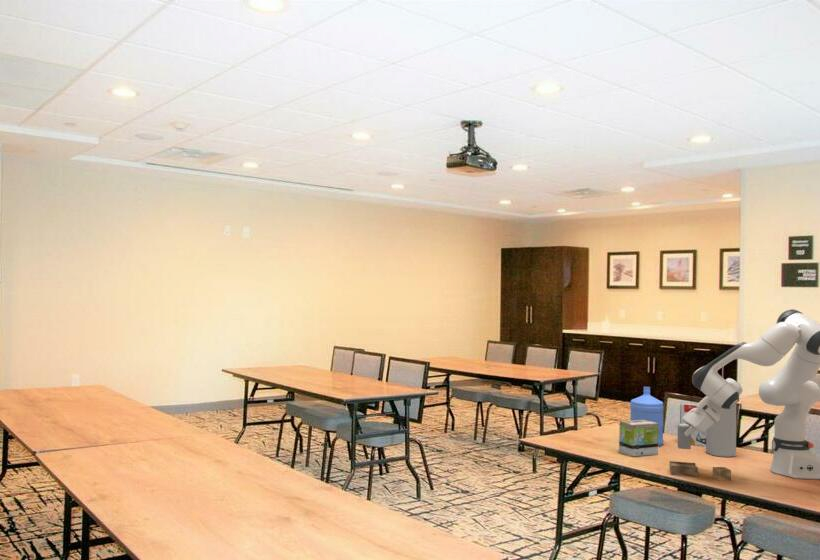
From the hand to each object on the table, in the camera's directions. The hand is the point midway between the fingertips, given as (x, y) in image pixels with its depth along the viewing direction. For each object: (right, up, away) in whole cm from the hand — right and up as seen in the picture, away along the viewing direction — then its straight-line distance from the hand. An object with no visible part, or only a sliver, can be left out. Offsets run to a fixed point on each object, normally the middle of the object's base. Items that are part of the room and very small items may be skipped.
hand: (682, 433), depth 268 cm
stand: (0, -16, 0) cm, 16 cm away
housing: (0, -6, 0) cm, 6 cm away
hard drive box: (+30, -19, +55) cm, 65 cm away
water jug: (+5, -18, +55) cm, 58 cm away
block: (+13, -17, -7) cm, 22 cm away
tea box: (-6, -18, +33) cm, 38 cm away
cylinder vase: (+32, -18, +34) cm, 50 cm away
